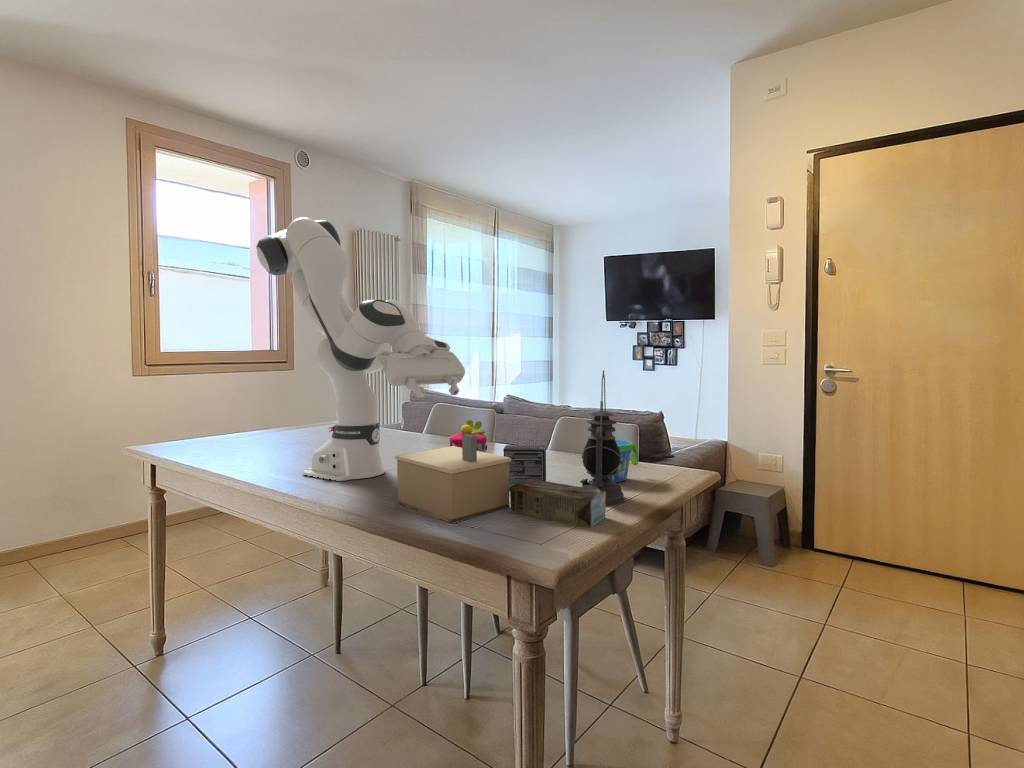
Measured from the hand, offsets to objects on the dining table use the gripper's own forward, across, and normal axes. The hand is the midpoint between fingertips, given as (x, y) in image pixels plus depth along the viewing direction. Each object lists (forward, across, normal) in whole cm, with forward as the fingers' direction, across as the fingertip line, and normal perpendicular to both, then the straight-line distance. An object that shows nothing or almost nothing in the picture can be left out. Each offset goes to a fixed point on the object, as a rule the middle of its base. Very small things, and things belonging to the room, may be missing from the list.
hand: (439, 394), depth 123 cm
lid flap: (+14, 0, +7) cm, 15 cm away
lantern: (+35, +28, +1) cm, 45 cm away
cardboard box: (+21, 0, +14) cm, 25 cm away
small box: (+21, +23, +14) cm, 34 cm away
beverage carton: (+36, +11, 0) cm, 38 cm away
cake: (+6, +21, +28) cm, 36 cm away
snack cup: (+29, +44, +7) cm, 53 cm away
